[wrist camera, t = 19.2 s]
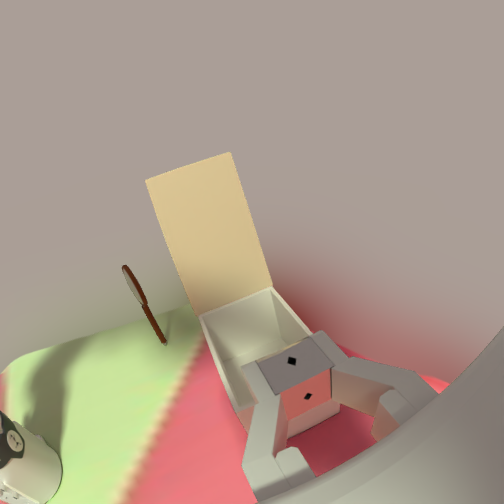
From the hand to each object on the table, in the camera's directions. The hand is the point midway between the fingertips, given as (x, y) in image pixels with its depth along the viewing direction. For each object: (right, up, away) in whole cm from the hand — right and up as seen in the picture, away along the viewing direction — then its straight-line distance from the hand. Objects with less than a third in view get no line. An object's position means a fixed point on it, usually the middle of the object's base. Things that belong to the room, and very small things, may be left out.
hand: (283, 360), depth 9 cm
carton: (+2, -18, +34) cm, 39 cm away
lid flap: (-7, +6, +35) cm, 36 cm away
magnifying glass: (-19, -16, +49) cm, 55 cm away
